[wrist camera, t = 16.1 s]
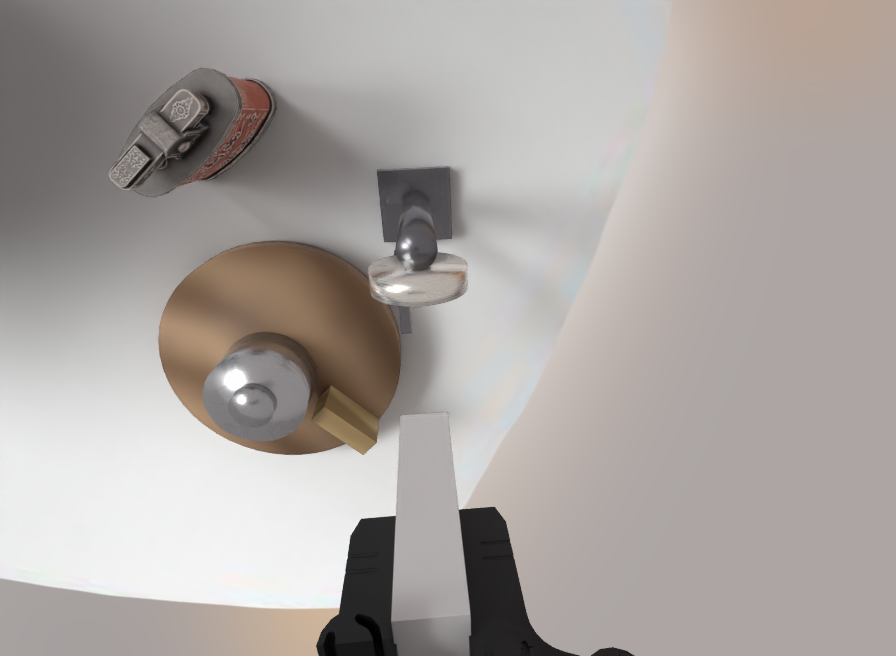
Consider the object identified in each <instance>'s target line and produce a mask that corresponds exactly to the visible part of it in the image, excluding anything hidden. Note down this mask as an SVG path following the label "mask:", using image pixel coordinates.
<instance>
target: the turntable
mask: <svg viewBox="0 0 896 656" xmlns="http://www.w3.org/2000/svg"><path fill="white" fill-rule="evenodd" d="M257 332H273V333H278V334H282V335H285V336H287V337H290V338H291V339H293V340H295V341H297V342H298V343H300V344H301V345H302V346H303V347H304V348H305V349H306V350H307V351H308V352H309V354H310V355H311V357H312V359H313V360H314V363H315V366H316V370H317V381H316V385H315V388H314V391H313V394H312V396H311V399H310V402H309V405H308V407H307V410H306V413H305V416H304V418H303V420H302V422H301V423H300V425H299V426H298V427H297V428H296V429H295V430H294V431H293V432H292V433H290V434H288V435H287V436H285V437H282V438H280V439H277V440H272V441H265V442H256V441H249V440H244V439H241V438H238V437H235V436H233V435H231V434H229V433H227V432H226V431H224V430H223V429H222V428H220V427H219V426H218V425H217V424H216V423H215V422H214V421H213V420H212V419H211V417H210V416H209V414H208V413H207V411H206V409H205V406H204V403H203V386H204V383H205V380H206V379H207V377H208V375H209V374H210V373H211V372H212V370H213V369H214V368H215V366H216V365H217V364H218V363H219V361H220V360H221V359H222V358H223V356H224V355H225V354H226V352H227V351H228V350H229V349H230V347H231V346H232V345H233V344H234V343H235V342H236V341H237V340H239V339H240V338H242V337H244V336H246V335H249V334H252V333H257ZM159 352H160V358H161V362H162V366H163V369H164V372H165V374H166V377H167V379H168V382H169V383H170V385H171V387H172V389H173V391H174V392H175V394H176V395H177V397H178V398H179V399H180V401H181V402H182V403H183V405H184V406H185V407H186V408H187V409H188V410H189V411H190V412H191V413H192V414H193V416H195V417H196V418H197V419H198V420H199V421H200V422H202V423H203V424H204V425H205V426H207V427H208V428H210V429H211V430H213V431H214V432H216V433H217V434H219V435H221V436H223V437H224V438H226V439H228V440H230V441H232V442H235V443H237V444H240V445H242V446H245V447H248V448H251V449H255V450H258V451H263V452H268V453H274V454H284V455H302V454H311V453H317V452H322V451H326V450H330V449H333V448H336V447H339V446H341V445H344V444H347V445H349V446H350V447H352V448H353V449H355V450H356V451H358V452H359V453H361V454H362V455H364V454H365V453H366V452H367V451H368V450H369V449H370V448H371V447H372V446H374V445H375V444H376V443H377V435H378V426H379V418H380V417H381V416H382V415H383V413H384V412H385V410H386V409H387V408H388V406H389V404H390V402H391V400H392V398H393V396H394V394H395V390H396V387H397V384H398V380H399V373H400V361H401V344H400V337H399V331H398V328H397V324H396V321H395V318H394V316H393V314H392V312H391V309H390V307H389V306H388V304H385V303H382V302H379V301H377V300H376V299H374V298H373V297H372V296H371V292H370V284H369V280H368V279H367V278H366V277H365V276H364V275H363V274H362V273H361V272H360V271H358V270H357V269H355V268H354V267H353V266H351V265H350V264H349V263H347V262H345V261H344V260H342V259H340V258H338V257H336V256H335V255H333V254H330V253H328V252H325V251H323V250H321V249H318V248H314V247H311V246H307V245H304V244H298V243H292V242H284V241H265V242H254V243H249V244H245V245H241V246H237V247H234V248H232V249H229V250H227V251H224V252H222V253H220V254H218V255H217V256H215V257H213V258H211V259H210V260H208V261H207V262H205V263H204V264H202V265H201V266H200V267H198V268H197V269H196V270H194V271H193V272H192V273H191V274H189V275H188V276H187V277H186V278H185V279H184V280H183V281H182V282H181V283H180V284H179V285H178V287H177V288H176V289H175V291H174V292H173V294H172V295H171V297H170V298H169V300H168V302H167V305H166V307H165V309H164V311H163V314H162V319H161V323H160V327H159Z"/></svg>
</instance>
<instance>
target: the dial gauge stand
mask: <svg viewBox="0 0 896 656" xmlns="http://www.w3.org/2000/svg"><path fill="white" fill-rule="evenodd" d="M377 175H378V185H379V195H380V206H381V216H382V226H383V236H384V242H397V243H396V250H395V251H394V256H390V257H386V258H383V259H380V260H378V261H376V262H374V263H373V264H371V265H370V266H369V268H368V275H369V284H370V292H371V296H372V297H373V298H374V299H376V300H377V301H379V302H382V303H385V304H389V305H395V306H399V311H400V322H401V333H402V334H405V333H412V328H411V316H410V307H416V306H429V305H436V304H441V303H445V302H448V301H451V300H454V299H456V298H458V297H460V296H462V295H463V294H464V293H465V292H466V291H467V290H468V264H467V261H466V260H465V259H463V258H461V257H459V256H456V255H452V254H447V253H438V252H437V251H438V249H437V243H436V239H452V229H451V201H450V173H449V166H445V167H424V168H404V169H383V170H377Z"/></svg>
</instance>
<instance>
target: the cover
mask: <svg viewBox="0 0 896 656" xmlns="http://www.w3.org/2000/svg"><path fill="white" fill-rule="evenodd" d="M316 381H317V370H316V366H315V363H314V360H313V359H312V357H311V355H310V354H309V352H308V351H307V350H306V349H305V348H304V347H303V346H302V345H301V344H300V343H298V342H297V341H295V340H293V339H291V338H290V337H287V336H285V335H282V334H278V333H273V332H257V333H252V334H249V335H246V336H244V337H242V338H240V339H239V340H237V341H236V342H235V343H234V344H233V345H232V346H231V347H230V349H229V350H228V351H227V352H226V354H225V355H224V356H223V358H222V359H221V360H220V361H219V363H218V364H217V365H216V366H215V368H214V369H213V370H212V372H211V373H210V374H209V375H208V377H207V379H206V380H205V383H204V386H203V403H204V406H205V409H206V411H207V413H208V414H209V416H210V417H211V419H212V420H213V421H214V422H215V423H216V424H217V425H218V426H219V427H220V428H222V429H223V430H224V431H226V432H227V433H229V434H231V435H233V436H235V437H238V438H241V439H244V440H249V441H256V442H265V441H272V440H277V439H280V438H282V437H285V436H287V435H288V434H290V433H292V432H293V431H294V430H295V429H296V428H297V427H298V426H299V425H300V423H301V422H302V420H303V418H304V416H305V413H306V410H307V407H308V405H309V402H310V399H311V396H312V394H313V391H314V388H315V385H316Z"/></svg>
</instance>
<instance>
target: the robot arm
mask: <svg viewBox="0 0 896 656" xmlns="http://www.w3.org/2000/svg"><path fill="white" fill-rule="evenodd" d="M316 647H317V651H318V654H319V656H579V655H575V654H571V653H567V652H564V651H561V650H559V649H556V648H553V647H552V646H550V645H548V644H547V643H546V642H544V641H543V640H542V639H541V638H540V637H539V636H538V635H537V634H536V632H535V631H534V629H533V628H532V626H531V624H530V622H529V619H528V616H527V613H526V609H525V604H524V600H523V595H522V591H521V586H520V582H519V578H518V573H517V569H516V565H515V560H514V557H513V551H512V547H511V543H510V538H509V534H508V530H507V525H506V521H505V520H504V519H503V517H502V516H501V515H500V513H499V512H498V511H497V509H496V508H495V507H487V508H474V509H461V510H459V509H458V500H457V491H456V482H455V473H454V465H453V456H452V447H451V438H450V429H449V421H448V412H441V413H427V414H413V415H400V437H399V459H398V481H397V503H396V516H390V517H378V518H365V519H361V520H360V522H359V523H358V525H357V526H356V528H355V530H354V531H353V533H352V535H351V537H350V544H349V551H348V559H347V564H346V574H345V577H344V584H343V591H342V597H341V604H340V611H339V614H338V615H337V616H335V617H334V618H333V619H331V620H330V622H329V623H328V624H327V625H326V627H325V628H324V629H323V630H322V632H321V634H320V637H319V640H318V642H317V645H316ZM591 656H634V655H632V654H631V653H629V652H628V651H625V650H621V649H617V648H613V647H612V648H605V649H600V650H598V651H597V652H595V653H594V654H593V655H591Z"/></svg>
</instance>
